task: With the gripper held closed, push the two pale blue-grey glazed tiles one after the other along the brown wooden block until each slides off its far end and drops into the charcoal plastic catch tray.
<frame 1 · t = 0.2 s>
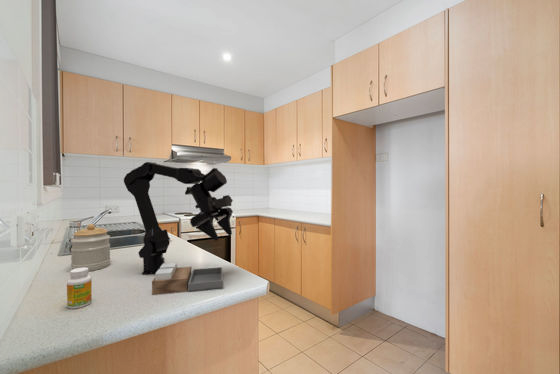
hand: (224, 237, 89), 15 cm above the counter, tool tilted 30°, fingers open, 9 cm apart
brown wooden block: (173, 285, 84), on the counter
tray: (206, 282, 87), on the counter
supplement bottle: (79, 305, 71), on the counter
tile 1: (168, 271, 87), point 4 cm above the counter, touching brown wooden block
jar: (91, 267, 104), on the counter
tile 2: (164, 277, 81), point 4 cm above the counter, touching brown wooden block
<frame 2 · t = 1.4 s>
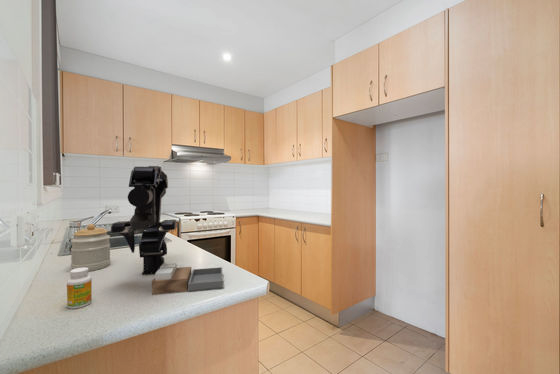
hand: (146, 251, 85), 11 cm above the counter, tool pointing down, fingers open, 7 cm apart
nothing on the counter moved.
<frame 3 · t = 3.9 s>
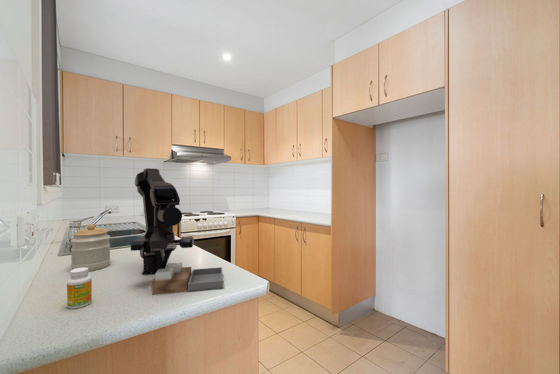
hand: (164, 268, 86), 5 cm above the counter, tool pointing down, fingers closed
tile 1: (174, 270, 87), point 4 cm above the counter, touching brown wooden block, gripper
everything else where it was.
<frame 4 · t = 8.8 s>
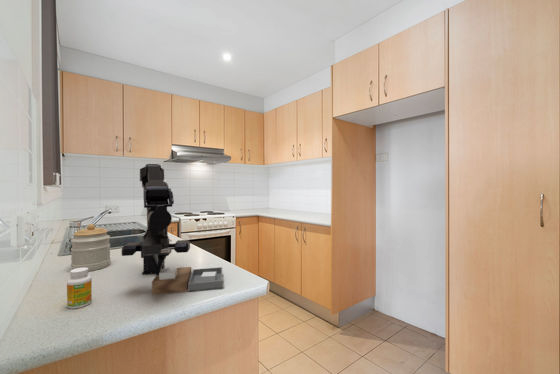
hand: (157, 274, 80), 5 cm above the counter, tool pointing down, fingers closed
tile 1: (208, 273, 88), point 2 cm above the counter, tilted 180°, touching tray
tile 2: (168, 276, 81), point 4 cm above the counter, touching gripper
everything else where it was.
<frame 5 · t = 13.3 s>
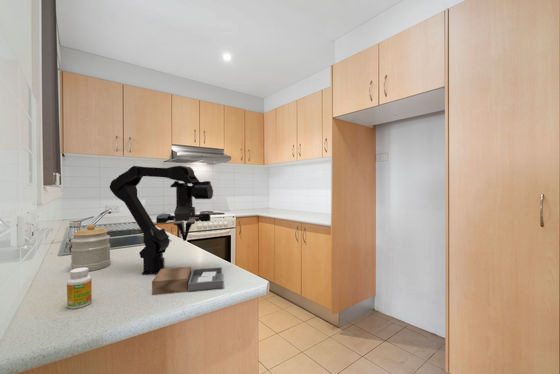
hand: (184, 240, 97), 12 cm above the counter, tool pointing down, fingers closed
tile 2: (205, 279, 83), point 2 cm above the counter, tilted 180°, touching tray
everything else where it was.
at the end: tile 1 inside the target area on the tray (0.8 cm from its centre), point 2.5 cm above the tray's base; tile 2 inside the target area on the tray (4.0 cm from its centre), point 2.5 cm above the tray's base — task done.
